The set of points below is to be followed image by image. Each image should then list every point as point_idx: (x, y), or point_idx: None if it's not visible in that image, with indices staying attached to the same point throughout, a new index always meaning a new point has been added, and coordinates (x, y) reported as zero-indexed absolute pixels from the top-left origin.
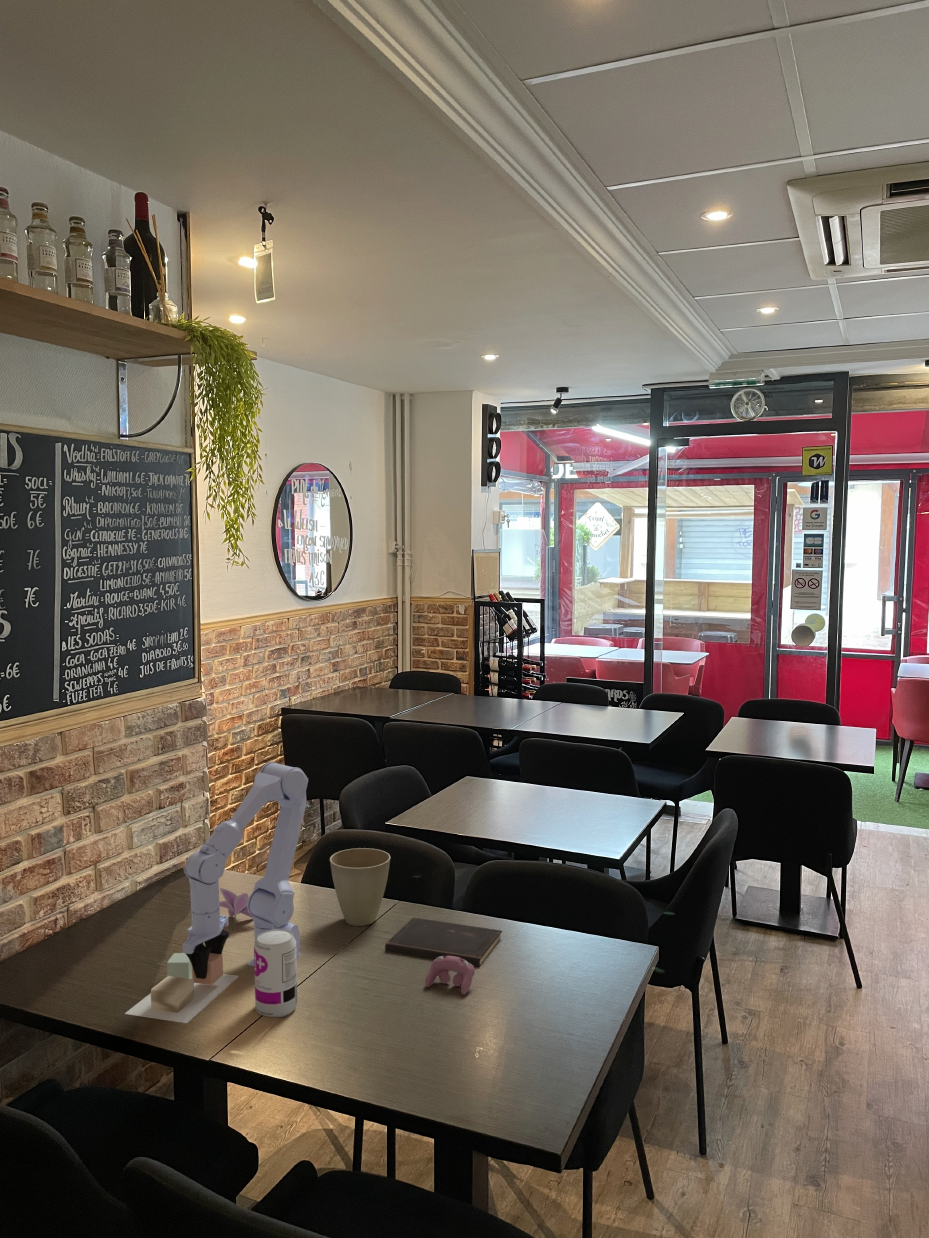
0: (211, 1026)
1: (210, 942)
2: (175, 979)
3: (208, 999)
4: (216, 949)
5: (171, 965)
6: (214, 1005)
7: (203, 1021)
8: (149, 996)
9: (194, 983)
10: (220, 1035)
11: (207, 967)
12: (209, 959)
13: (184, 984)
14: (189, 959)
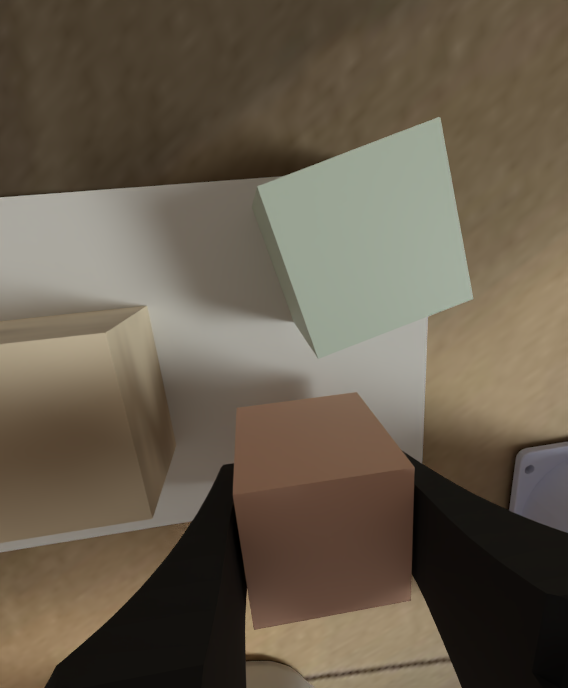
0: (40, 620)
1: (473, 605)
2: (89, 418)
3: (194, 504)
4: (432, 591)
5: (269, 228)
6: (178, 535)
7: (52, 577)
8: (73, 213)
9: (300, 350)
10: (10, 676)
11: (246, 582)
12: (313, 579)
13: (64, 515)
14: (152, 575)
